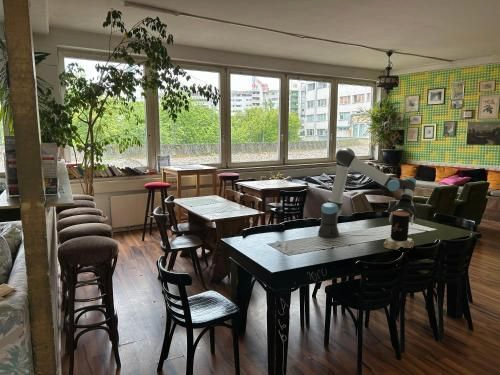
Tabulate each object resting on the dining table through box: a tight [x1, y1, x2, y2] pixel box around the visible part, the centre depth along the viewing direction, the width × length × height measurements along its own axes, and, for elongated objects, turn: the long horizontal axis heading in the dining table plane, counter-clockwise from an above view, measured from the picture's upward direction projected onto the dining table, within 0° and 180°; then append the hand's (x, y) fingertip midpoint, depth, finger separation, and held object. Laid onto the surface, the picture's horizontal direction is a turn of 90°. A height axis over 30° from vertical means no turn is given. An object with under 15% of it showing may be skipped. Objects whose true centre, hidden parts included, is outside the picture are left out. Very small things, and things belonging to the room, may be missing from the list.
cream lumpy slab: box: [383, 235, 415, 251], centre depth 246 cm, size 16×16×5 cm
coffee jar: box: [390, 210, 411, 241], centre depth 244 cm, size 11×11×18 cm
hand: (400, 222), depth 242 cm, fingers open, 13 cm apart
